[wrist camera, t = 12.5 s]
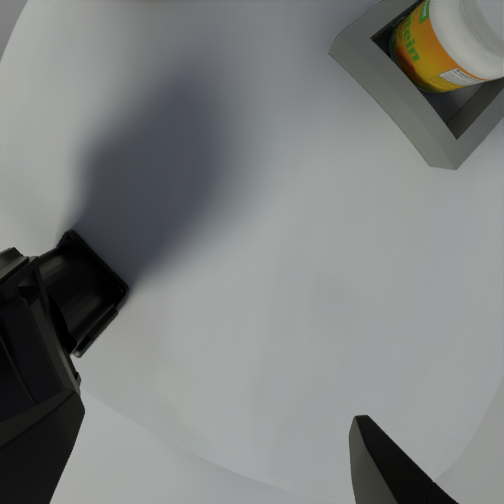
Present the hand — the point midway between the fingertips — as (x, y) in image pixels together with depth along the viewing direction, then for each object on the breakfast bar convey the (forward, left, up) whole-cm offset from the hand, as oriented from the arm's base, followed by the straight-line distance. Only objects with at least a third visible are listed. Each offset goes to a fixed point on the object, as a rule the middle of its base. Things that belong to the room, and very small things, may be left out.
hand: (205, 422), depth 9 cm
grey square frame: (-1, +18, -13) cm, 23 cm away
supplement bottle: (-2, +19, -13) cm, 23 cm away
